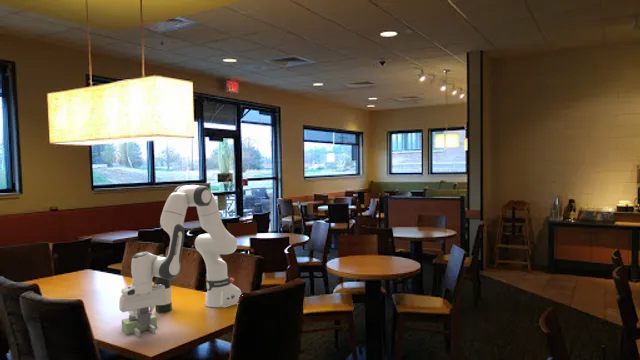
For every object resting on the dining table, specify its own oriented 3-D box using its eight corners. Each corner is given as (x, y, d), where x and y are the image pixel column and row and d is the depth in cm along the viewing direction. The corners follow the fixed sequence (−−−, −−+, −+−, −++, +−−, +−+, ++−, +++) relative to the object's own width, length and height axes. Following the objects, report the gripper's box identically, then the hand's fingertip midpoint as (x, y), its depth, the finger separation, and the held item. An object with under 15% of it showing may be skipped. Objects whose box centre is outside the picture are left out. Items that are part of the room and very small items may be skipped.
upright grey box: (146, 319, 211) (145, 305, 211) (150, 323, 206) (150, 308, 206) (137, 321, 209) (136, 306, 209) (141, 325, 204) (141, 310, 203)
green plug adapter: (151, 322, 222) (151, 308, 221) (162, 331, 210) (161, 316, 209) (122, 330, 213) (121, 315, 213) (130, 339, 201) (130, 323, 201)
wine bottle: (175, 308, 243) (172, 253, 241) (165, 313, 235) (162, 257, 234) (162, 307, 245) (160, 253, 244) (152, 312, 238) (149, 256, 236)
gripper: (162, 282, 216) (163, 310, 216) (117, 290, 203) (118, 320, 204) (167, 284, 211) (168, 313, 211) (121, 293, 198) (122, 324, 199)
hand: (143, 317), depth 207 cm, fingers closed on upright grey box, 4 cm apart
